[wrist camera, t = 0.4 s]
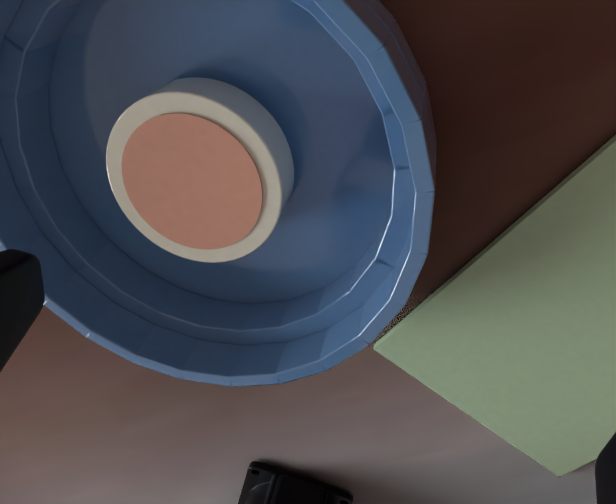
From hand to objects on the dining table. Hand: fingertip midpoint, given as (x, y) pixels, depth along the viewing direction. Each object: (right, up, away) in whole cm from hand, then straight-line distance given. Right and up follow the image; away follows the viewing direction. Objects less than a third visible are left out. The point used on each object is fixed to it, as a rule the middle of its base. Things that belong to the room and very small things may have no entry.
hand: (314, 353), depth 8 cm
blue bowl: (-4, +6, +14) cm, 16 cm away
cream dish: (-4, +5, +14) cm, 15 cm away
